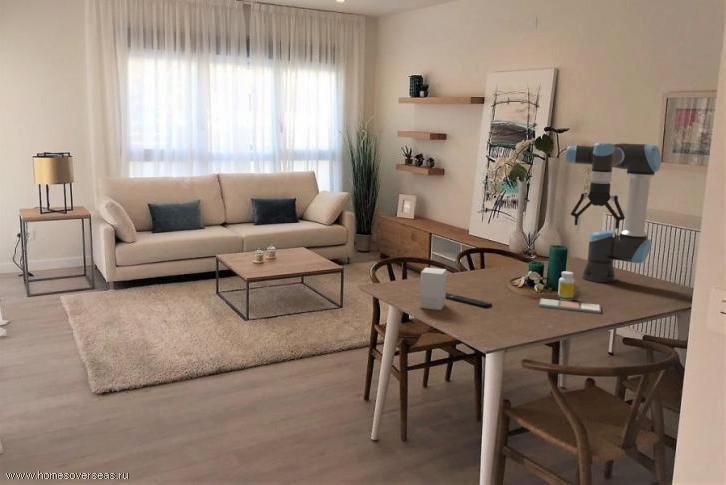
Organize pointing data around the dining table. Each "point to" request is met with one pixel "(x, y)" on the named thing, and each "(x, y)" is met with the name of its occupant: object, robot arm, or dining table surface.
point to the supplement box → (433, 288)
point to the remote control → (468, 300)
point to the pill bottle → (566, 286)
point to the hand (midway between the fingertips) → (595, 235)
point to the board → (570, 305)
